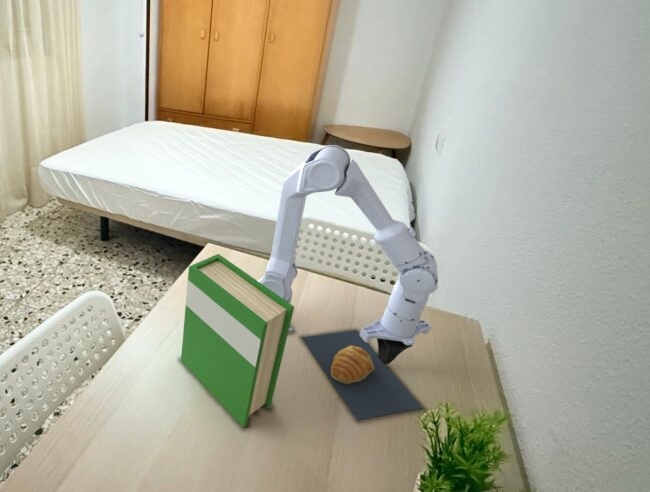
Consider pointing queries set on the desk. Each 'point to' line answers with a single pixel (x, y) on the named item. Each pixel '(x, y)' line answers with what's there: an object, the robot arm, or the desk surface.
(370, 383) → the napkin
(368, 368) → the pastry
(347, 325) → the desk surface
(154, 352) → the desk surface
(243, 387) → the hardback book
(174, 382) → the desk surface
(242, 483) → the desk surface
